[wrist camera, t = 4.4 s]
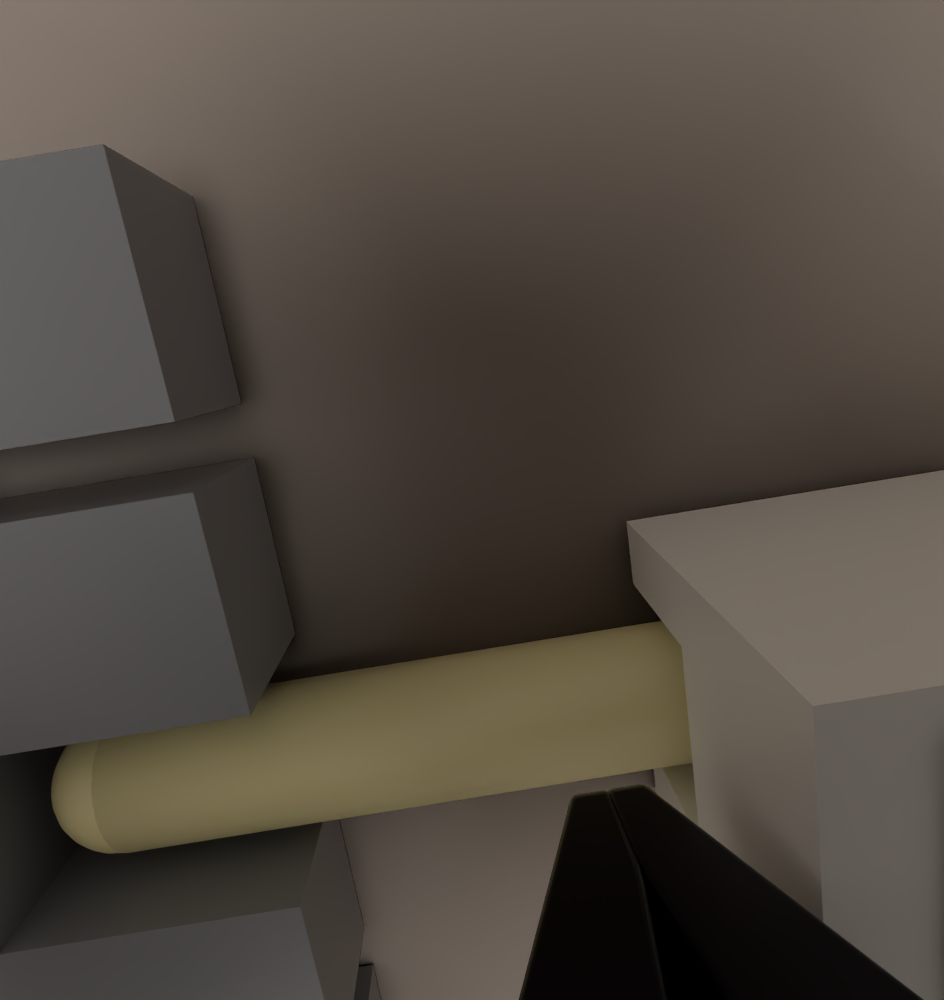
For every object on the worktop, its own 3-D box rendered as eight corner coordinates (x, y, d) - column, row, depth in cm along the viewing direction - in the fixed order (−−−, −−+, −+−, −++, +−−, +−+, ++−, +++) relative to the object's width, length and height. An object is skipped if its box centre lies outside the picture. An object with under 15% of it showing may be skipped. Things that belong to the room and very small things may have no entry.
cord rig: (139, 1135, 13) (46, 1374, 10) (-179, 241, 9) (-478, 190, 6) (1363, 942, 13) (1640, 1123, 10) (1532, -40, 9) (2060, -229, 6)
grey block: (656, 798, 11) (841, 1204, 6) (626, 521, 10) (819, 714, 5) (956, 750, 11) (1411, 1113, 6) (958, 467, 10) (1517, 601, 5)
